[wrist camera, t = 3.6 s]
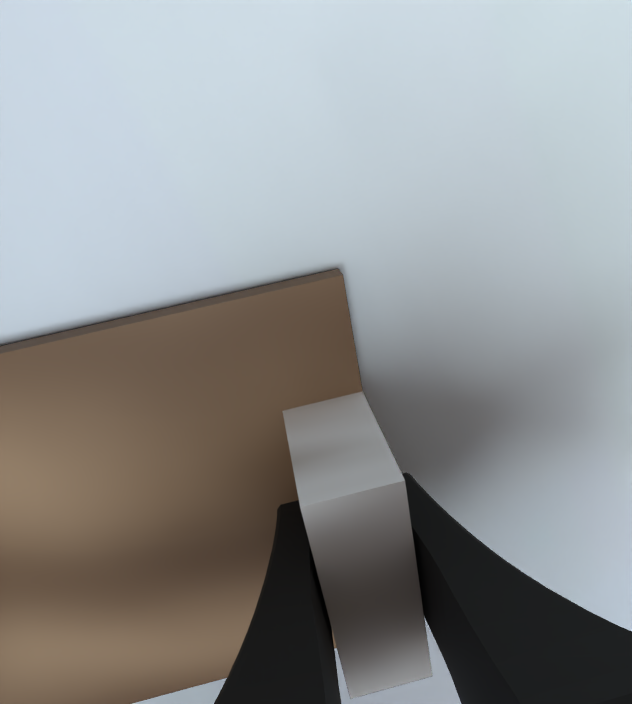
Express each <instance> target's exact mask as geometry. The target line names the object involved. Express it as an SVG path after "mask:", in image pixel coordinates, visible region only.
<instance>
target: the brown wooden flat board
mask: <svg viewBox="0 0 632 704" xmlns="http://www.w3.org/2000/svg"><path fill="white" fill-rule="evenodd" d="M297 500H299V504H300V509H301V512H302V516H303V520H304V524H305V528H306V532H307V535H308V539H309V543H310V547H311V551H312V554H313V558H314V562H315V566H316V570H317V574H318V577H319V581H320V585H321V589H322V593H323V596H324V600H325V604H326V608H327V612H328V616H329V619H330V623H331V627H332V634H333V643H334V648H337V650H338V654H339V658H340V661H341V665H342V669H343V673H344V677H345V680H346V684H347V688H348V692H349V696H350V699H353V698H356V697H360V696H363V695H367V694H371V693H374V692H378V691H381V690H385V689H389V688H392V687H396V686H399V685H403V684H407V683H410V682H414V681H417V680H421V679H425V678H428V677H432V670H431V663H430V655H429V648H428V641H427V634H426V627H425V620H424V613H423V605H422V598H421V591H420V584H419V577H418V570H417V563H416V556H415V548H414V541H413V534H412V527H411V520H410V513H409V506H408V498H407V491H406V484H405V479H404V477H403V475H402V473H401V471H400V469H399V467H398V465H397V463H396V460H395V458H394V456H393V454H392V452H391V450H390V448H389V446H388V444H387V442H386V439H385V437H384V435H383V433H382V431H381V429H380V427H379V425H378V423H377V421H376V418H375V416H374V414H373V412H372V410H371V408H370V406H369V404H368V402H367V400H366V397H365V395H364V393H363V391H362V385H361V379H360V373H359V367H358V362H357V356H356V350H355V344H354V338H353V332H352V326H351V320H350V314H349V309H348V303H347V297H346V291H345V285H344V279H343V275H342V273H341V272H340V270H339V269H335V270H331V271H326V272H322V273H318V274H313V275H309V276H304V277H300V278H296V279H291V280H287V281H283V282H278V283H274V284H270V285H265V286H261V287H256V288H252V289H248V290H243V291H239V292H235V293H230V294H226V295H221V296H217V297H213V298H208V299H204V300H200V301H195V302H191V303H187V304H182V305H178V306H173V307H169V308H165V309H160V310H156V311H152V312H147V313H143V314H138V315H134V316H130V317H125V318H121V319H117V320H112V321H108V322H104V323H99V324H95V325H90V326H86V327H82V328H77V329H73V330H69V331H64V332H60V333H55V334H51V335H47V336H42V337H38V338H34V339H29V340H25V341H21V342H16V343H12V344H7V345H3V346H0V704H132V703H135V702H139V701H143V700H147V699H150V698H154V697H158V696H161V695H165V694H169V693H172V692H176V691H180V690H183V689H187V688H191V687H194V686H198V685H202V684H206V683H209V682H213V681H217V680H220V679H224V678H227V677H228V675H229V673H230V670H231V668H232V666H233V664H234V662H235V659H236V657H237V655H238V653H239V651H240V648H241V646H242V643H243V641H244V638H245V636H246V633H247V631H248V628H249V625H250V623H251V620H252V617H253V614H254V612H255V609H256V605H257V602H258V599H259V596H260V593H261V589H262V586H263V583H264V579H265V576H266V572H267V568H268V564H269V559H270V555H271V551H272V546H273V541H274V536H275V529H276V521H277V509H278V508H279V506H280V505H281V504H285V503H289V502H293V501H297Z"/></svg>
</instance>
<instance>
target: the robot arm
mask: <svg viewBox="0 0 632 704" xmlns="http://www.w3.org/2000/svg"><path fill="white" fill-rule="evenodd" d="M402 475H403V477H404V479H405V484H406V491H407V498H408V506H409V513H410V520H411V527H412V534H413V541H414V548H415V556H416V563H417V570H418V577H419V584H420V591H421V598H422V605H423V613H424V616H425V619H426V621H427V623H428V625H429V627H430V629H431V632H432V634H433V636H434V638H435V640H436V642H437V644H438V647H439V649H440V651H441V653H442V655H443V657H444V660H445V662H446V664H447V667H448V669H449V672H450V674H451V676H452V679H453V682H454V684H455V687H456V690H457V693H458V695H459V698H460V701H461V704H632V631H629V630H627V629H624V628H622V627H620V626H618V625H615V624H613V623H611V622H609V621H607V620H605V619H603V618H601V617H599V616H597V615H595V614H593V613H591V612H589V611H587V610H586V609H584V608H582V607H580V606H578V605H577V604H575V603H573V602H571V601H569V600H568V599H566V598H564V597H562V596H561V595H559V594H557V593H555V592H553V591H552V590H550V589H548V588H546V587H545V586H543V585H542V584H540V583H539V582H537V581H535V580H534V579H532V578H531V577H529V576H527V575H526V574H524V573H523V572H521V571H520V570H519V569H517V568H516V567H514V566H513V565H511V564H510V563H508V562H507V561H506V560H504V559H503V558H501V557H500V556H499V555H497V554H496V553H495V552H493V551H492V550H491V549H489V548H488V547H487V546H486V545H484V544H483V543H482V542H481V541H479V540H478V539H477V538H476V537H474V536H473V535H472V534H471V533H470V532H468V531H467V530H466V529H465V528H464V527H463V526H461V525H460V524H459V523H458V522H457V521H456V520H455V519H454V518H452V517H451V516H450V515H449V514H448V513H447V512H446V511H445V510H444V509H443V508H442V507H441V506H440V505H438V504H437V503H436V502H435V501H434V500H433V499H432V498H431V497H430V496H429V495H428V494H427V492H426V491H425V490H424V489H423V488H422V487H421V486H420V485H419V484H418V483H417V482H416V481H415V479H414V478H413V477H412V476H411V475H410V474H408V473H403V474H402ZM214 704H341V699H340V693H339V686H338V677H337V669H336V660H335V651H334V643H333V634H332V627H331V623H330V619H329V616H328V612H327V608H326V604H325V600H324V596H323V593H322V589H321V585H320V581H319V577H318V574H317V570H316V566H315V562H314V558H313V554H312V551H311V547H310V543H309V539H308V535H307V532H306V528H305V524H304V520H303V516H302V512H301V509H300V504H299V500H297V501H293V502H289V503H285V504H281V505H280V506H279V508H278V509H277V521H276V529H275V536H274V541H273V546H272V551H271V555H270V559H269V564H268V568H267V572H266V576H265V579H264V583H263V586H262V589H261V593H260V596H259V599H258V602H257V605H256V609H255V612H254V614H253V617H252V620H251V623H250V625H249V628H248V631H247V633H246V636H245V638H244V641H243V643H242V646H241V648H240V651H239V653H238V655H237V657H236V659H235V662H234V664H233V666H232V668H231V670H230V673H229V675H228V677H227V679H226V681H225V683H224V685H223V687H222V689H221V691H220V693H219V695H218V697H217V699H216V701H215V703H214Z"/></svg>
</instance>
